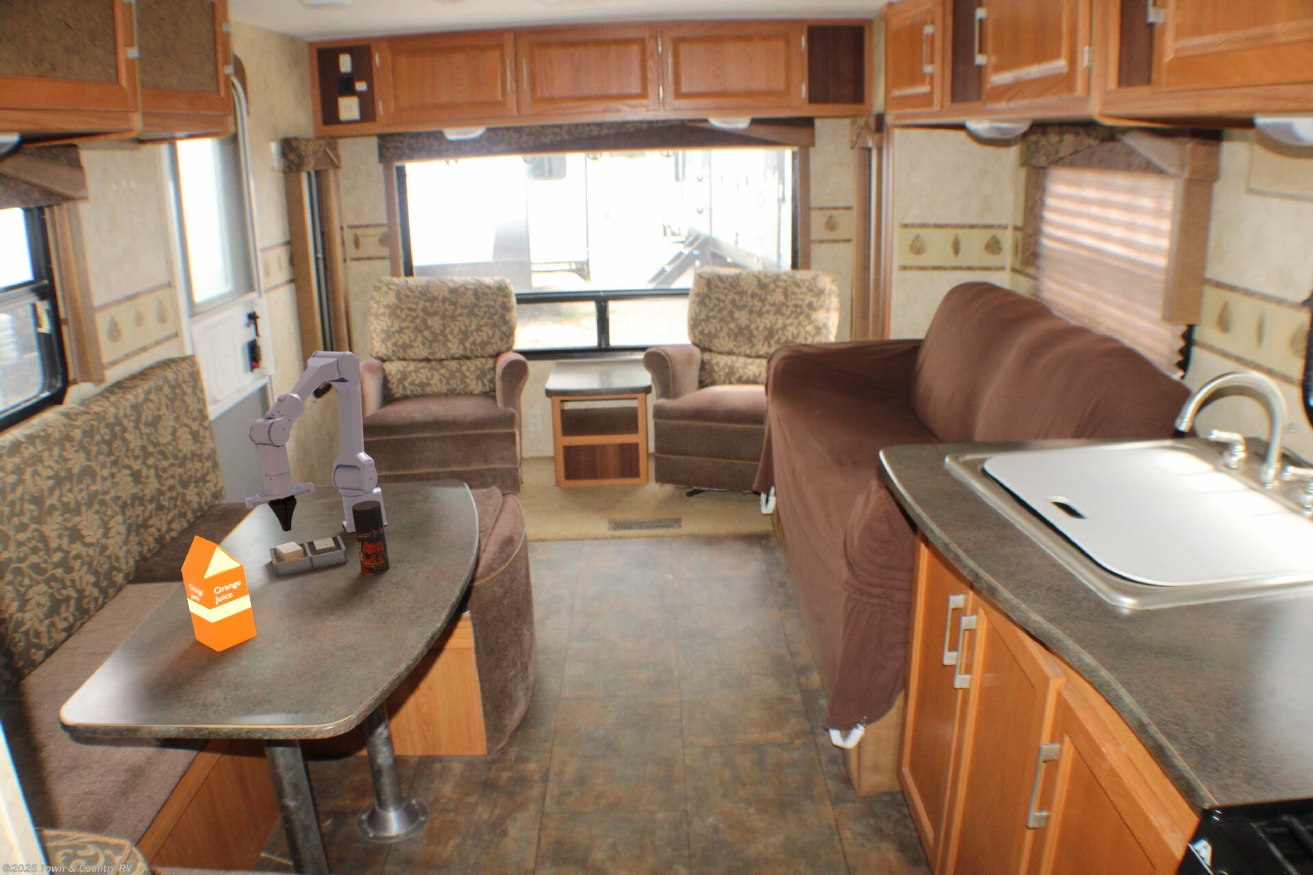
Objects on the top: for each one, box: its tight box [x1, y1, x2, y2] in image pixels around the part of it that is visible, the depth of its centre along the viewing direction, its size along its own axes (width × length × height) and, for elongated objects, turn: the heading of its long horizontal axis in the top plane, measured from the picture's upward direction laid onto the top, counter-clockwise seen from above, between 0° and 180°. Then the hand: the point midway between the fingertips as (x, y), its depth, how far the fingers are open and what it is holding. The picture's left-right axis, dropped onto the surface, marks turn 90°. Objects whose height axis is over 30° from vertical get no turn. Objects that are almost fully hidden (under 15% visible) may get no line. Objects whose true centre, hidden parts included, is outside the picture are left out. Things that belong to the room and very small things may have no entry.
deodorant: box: [352, 500, 390, 576], centre depth 205 cm, size 6×6×15 cm
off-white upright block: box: [275, 541, 304, 563], centre depth 213 cm, size 4×6×4 cm, turn 38°
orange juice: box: [180, 535, 257, 652], centre depth 177 cm, size 8×9×20 cm
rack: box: [269, 534, 349, 578], centre depth 214 cm, size 15×11×3 cm
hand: (286, 529), depth 211 cm, fingers closed
